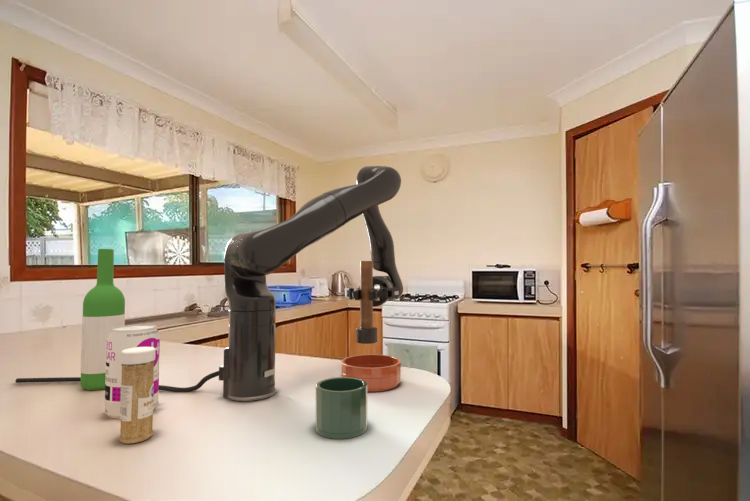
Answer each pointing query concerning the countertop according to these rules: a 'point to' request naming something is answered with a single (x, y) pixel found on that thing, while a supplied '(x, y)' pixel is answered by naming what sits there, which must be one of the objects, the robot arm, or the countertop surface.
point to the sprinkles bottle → (137, 394)
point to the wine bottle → (100, 322)
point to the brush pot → (341, 407)
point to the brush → (366, 306)
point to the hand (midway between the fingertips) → (364, 295)
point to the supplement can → (115, 345)
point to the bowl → (373, 370)
